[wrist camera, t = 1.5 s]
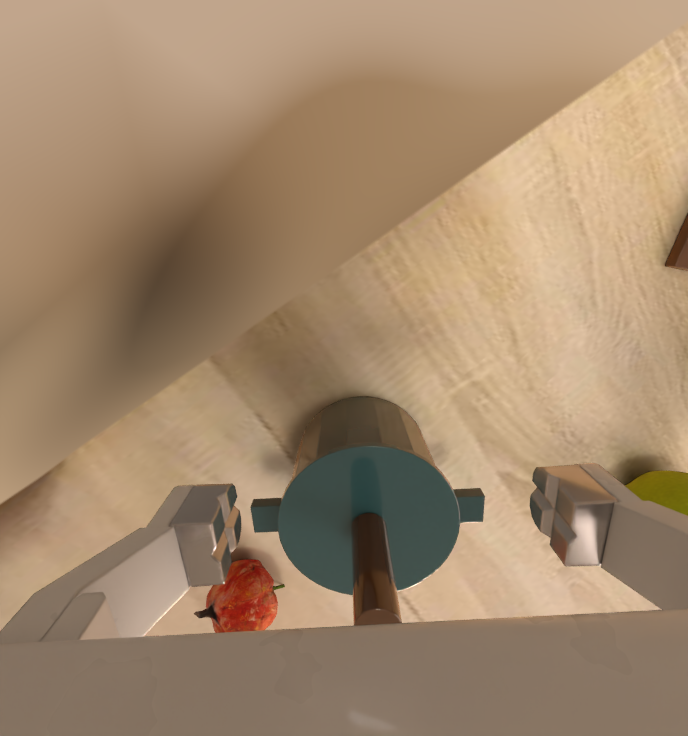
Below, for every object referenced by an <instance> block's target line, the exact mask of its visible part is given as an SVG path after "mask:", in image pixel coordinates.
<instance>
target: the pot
mask: <svg viewBox="0 0 688 736" xmlns="http://www.w3.org/2000/svg"><path fill="white" fill-rule="evenodd" d="M362 442H379V443H387V444H393V445H397V446H401V447H404V448H406V449H409V450H411V451H414V452H416V453H418V454H419V455H421V456H423V457H425V458H426V459H427V460H429V461H430V462H432V463H433V464H434V465H435V463H434V461H433V459H432V456H431V454H430V452H429V449H428V447H427V445H426V442H425V440H424V438H423V436H422V434H421V431H420V429H419V427H418V425H417V423H416V422H415V421H414V420H413V419H412V417H411V416H410V415H409V414H408V413H407V412H405V411H404V410H403V409H401V408H400V407H398V406H397V405H395V404H393V403H391V402H388V401H386V400H383V399H379V398H373V397H353V398H348V399H343V400H340V401H338V402H335V403H333V404H331V405H329V406H327V407H326V408H325V409H323V410H322V411H320V412H319V413H318V414H317V415H316V416H315V417H314V418H313V419H312V421H311V422H310V423H309V425H308V426H307V427H306V429H305V432H304V434H303V437H302V440H301V443H300V446H299V449H298V453H297V458H296V462H295V466H294V471H293V475H292V478H293V477H294V476H295V475H296V473H297V472H298V471H299V470H300V469H301V468H302V467H303V466H305V465H306V464H307V463H308V462H309V461H311V460H312V459H314V458H315V457H317V456H319V455H321V454H323V453H325V452H327V451H329V450H331V449H334V448H337V447H340V446H344V445H348V444H353V443H362ZM453 491H454V493H455V496H456V498H457V501H458V505H459V510H460V523H470V522H483V514H484V500H485V496H484V494H483V492H482V490H481V489H480V488H473V489H453ZM281 500H282V498H268V499H254V500H253V502H252V505H251V513H252V519H253V525H254V532H255V533H256V532H277V531H278V511H279V507H280V503H281Z"/></svg>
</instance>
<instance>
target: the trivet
mask: <svg viewBox="0 0 688 736" xmlns="http://www.w3.org/2000/svg"><path fill="white" fill-rule="evenodd" d="M665 266H667V267H672V268H677V269H682V270H686V271H688V215H687V217H686V219H685V221H684V224H683V226H682V228H681V231H680V233H679V235H678V237H677V240H676V242H675V244H674V246H673V249H672V251H671V253H670V255H669V258H668V260H667V262H666V265H665Z"/></svg>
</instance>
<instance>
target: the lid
mask: <svg viewBox="0 0 688 736" xmlns="http://www.w3.org/2000/svg"><path fill="white" fill-rule="evenodd" d="M459 527H460V510H459V505H458V501H457V498H456V496H455V493H454V491H453V489H452V487H451V485H450V483H449V481H448V480H447V478H446V477H445V476H444V474H443V473H442V472H441V471H440V470H439V469H438V468H437V467H436V466H435V465H434V464H433V463H432V462H430V461H429V460H427V459H426V458H425V457H423V456H421V455H419V454H418V453H416V452H414V451H411V450H409V449H406V448H404V447H401V446H397V445H393V444H387V443H379V442H362V443H353V444H348V445H344V446H340V447H337V448H334V449H331V450H329V451H327V452H325V453H323V454H321V455H319V456H317V457H315V458H314V459H312V460H311V461H309V462H308V463H307V464H306V465H305V466H303V467H302V468H301V469H300V470H299V471H298V472H297V473H296V475H295V476H294V477H293V478H292V479H291V481H290V483H289V484H288V486H287V487H286V489H285V492H284V494H283V496H282V500H281V503H280V507H279V511H278V533H279V537H280V541H281V544H282V546H283V549H284V551H285V553H286V554H287V556H288V558H289V559H290V561H291V562H292V563H293V564H294V566H295V567H296V568H297V569H298V570H299V571H300V572H301V573H302V574H304V575H305V576H306V577H308V578H309V579H310V580H312V581H314V582H315V583H317V584H319V585H321V586H323V587H325V588H327V589H330V590H333V591H336V592H339V593H344V594H349V595H353V615H354V626H359V625H378V624H397V623H402V621H401V615H400V608H399V602H398V596H397V592H398V591H401V590H404V589H407V588H409V587H412V586H414V585H416V584H418V583H419V582H421V581H423V580H424V579H426V578H427V577H429V576H430V575H431V574H433V573H434V572H435V571H436V570H437V569H438V568H439V567H440V566H441V565H442V564H443V563H444V561H445V560H446V559H447V558H448V556H449V554H450V553H451V551H452V549H453V547H454V545H455V543H456V540H457V537H458V533H459Z"/></svg>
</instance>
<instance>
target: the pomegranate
mask: <svg viewBox="0 0 688 736" xmlns="http://www.w3.org/2000/svg"><path fill="white" fill-rule="evenodd" d="M273 584H274V582H273V579H272V577H271V576H270V574H269V573H268V572H267V571H266V570H265V568H264V567H263V566H262V564H261V562H260V561H259V560H253V559H246V560H238V561H235V562H233V563H232V564H231V566H230V569H229V571H228V574H227V577H226V580H225V583H224V584H221V585H213V587H212V588H211V590H210V591H209V593H208V595H207V601H206V608H207V609H205V610H203V611H199V612H195V613H194V615H196V616H197V617H199V618H203V617H210V618H211V619H212V622H213V627H214V631H215V632H216V633H224V632H243V631H262V630H265V629H266V628H267V627H268V626H269V625H271V623H272V622H273V620H274V618H275V617H276V614H277V606H278V602H277V598H276V595H275V593H274V590H276V589H280V588H283V587H285V586H284V584H283V585H279V586H276V587H275V586H273Z"/></svg>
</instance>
